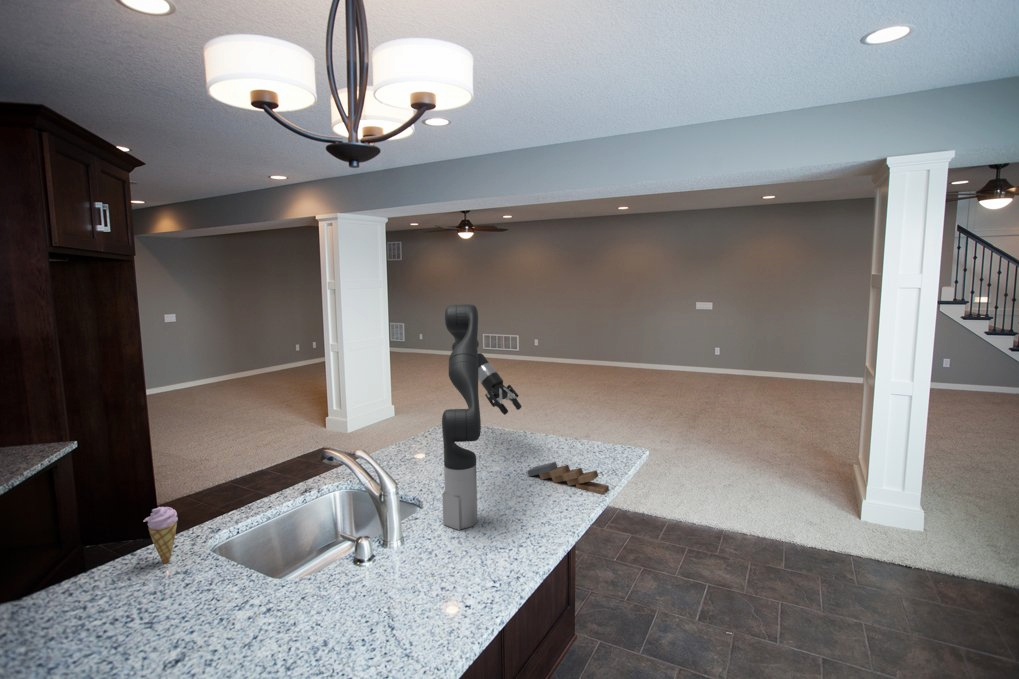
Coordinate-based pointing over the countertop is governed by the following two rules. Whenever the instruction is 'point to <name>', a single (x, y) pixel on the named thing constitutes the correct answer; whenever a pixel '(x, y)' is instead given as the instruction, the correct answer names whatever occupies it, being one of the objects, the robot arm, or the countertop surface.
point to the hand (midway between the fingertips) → (513, 410)
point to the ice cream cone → (163, 530)
